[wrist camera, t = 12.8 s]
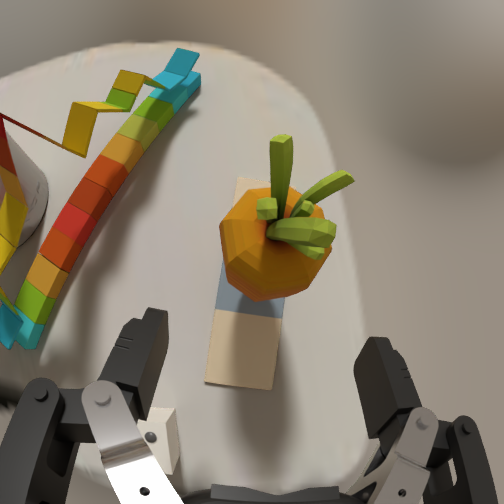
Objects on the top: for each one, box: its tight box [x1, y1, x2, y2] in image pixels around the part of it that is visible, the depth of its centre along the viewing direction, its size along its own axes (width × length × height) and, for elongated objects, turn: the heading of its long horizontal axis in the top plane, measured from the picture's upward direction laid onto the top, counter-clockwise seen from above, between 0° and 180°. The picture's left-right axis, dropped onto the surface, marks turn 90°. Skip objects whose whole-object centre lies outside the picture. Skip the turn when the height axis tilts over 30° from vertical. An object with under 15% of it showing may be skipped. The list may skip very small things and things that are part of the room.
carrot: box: [219, 134, 354, 302], centre depth 15 cm, size 5×5×15 cm
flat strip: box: [204, 177, 296, 390], centre depth 23 cm, size 5×16×1 cm, turn 172°
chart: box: [0, 48, 201, 349], centre depth 17 cm, size 30×3×15 cm, turn 154°
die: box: [137, 407, 180, 475], centre depth 17 cm, size 4×4×4 cm
